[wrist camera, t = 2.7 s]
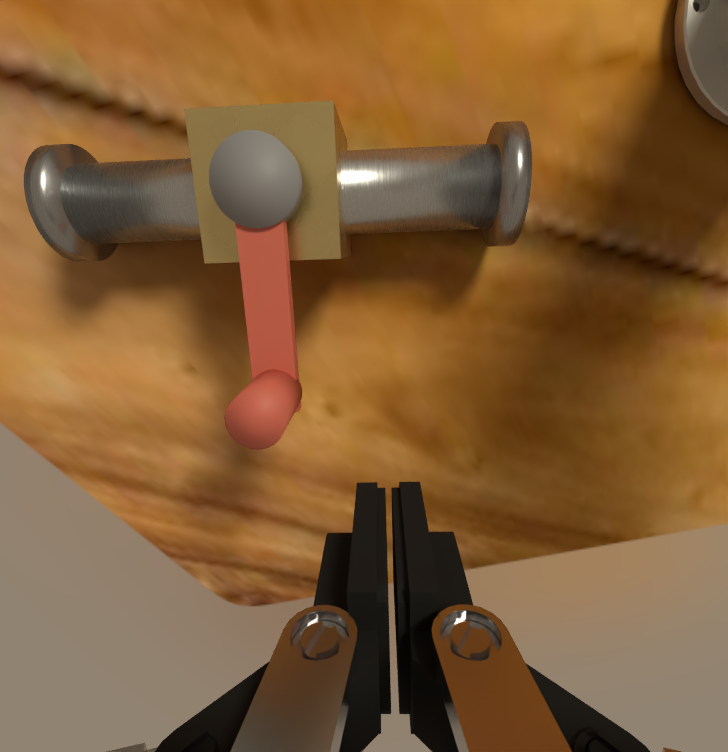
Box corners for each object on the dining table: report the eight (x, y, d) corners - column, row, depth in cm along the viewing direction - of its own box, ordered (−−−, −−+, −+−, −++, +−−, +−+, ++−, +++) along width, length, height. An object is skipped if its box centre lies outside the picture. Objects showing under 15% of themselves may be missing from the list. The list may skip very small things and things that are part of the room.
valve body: (501, 131, 27) (548, 85, 19) (496, 250, 29) (536, 251, 21) (90, 152, 28) (-20, 116, 21) (111, 264, 30) (18, 270, 22)
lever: (213, 138, 20) (163, 107, 16) (300, 134, 20) (275, 101, 15) (245, 411, 24) (213, 449, 19) (318, 410, 24) (303, 448, 19)
